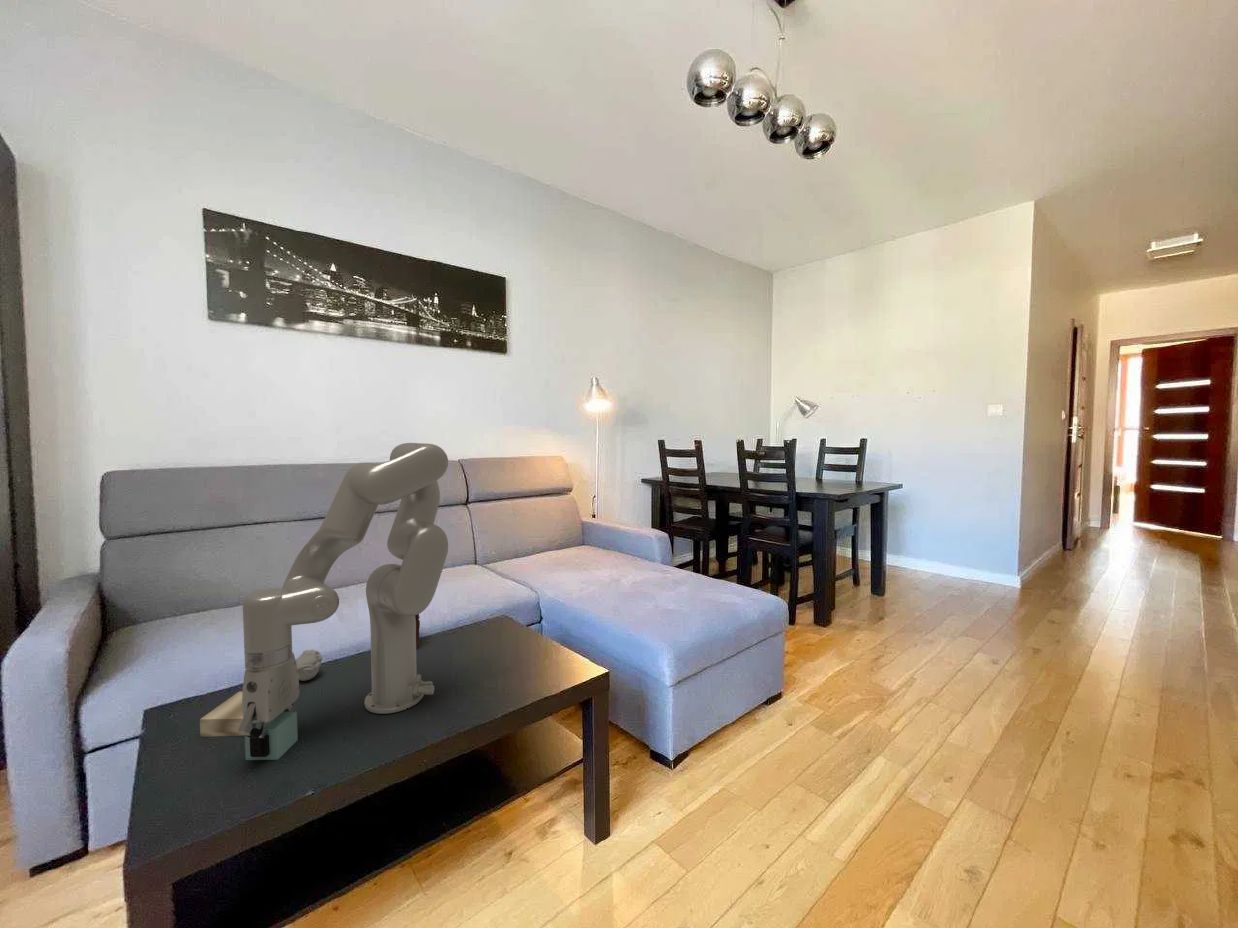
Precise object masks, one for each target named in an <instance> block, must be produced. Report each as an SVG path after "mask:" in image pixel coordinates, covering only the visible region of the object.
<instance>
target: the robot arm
mask: <svg viewBox="0 0 1238 928" xmlns="http://www.w3.org/2000/svg"><path fill="white" fill-rule="evenodd" d="M448 466H449V458H448V455H447V453H446V452H445V450H444V449H443V448H442V447H440V446H439V445H436V444H433V443H423V442H422V443H420V442H419V443H418V442H405V443H401V444H398V445H397V446H395V447H394V448H393V449H392V450H391V452H390V455H389V460H388V461H385V462H381V463H373V462H371V463H370V462H361V463H357V464H355V465H353V466H351V467H350V468H349V469H348V470H347V471H346V473H345V475H344V477H343V479H342V481H341V483H340V485H339V487H338V490H336V491H337V492H336V494H335V495H334V497H333V500H332V502H331V503H330V506H329V508H328V511H327V513H326V515H325V517H324V519H323V521H322V523H321V525H320V526H319V528H318V530H317V531H316V532H315V533H314V534H313V535H312V537H311V538H310V539H309V540H308V542H307V543H306V544H305V545H304V547H302V548H301V550H300V551H299V553H298V555H297V556H296V558H295V560H294V562H293V563H292V565H291V567H290V569H289V572H288V574H287V576H286V578H285V580H284V582H283V585H282V588H265V589H261V590H258V591H254V592H251V593H250V594H248V595H246V596H245V597H244V598H243V601H242V623H243V624H242V625H243V626H242V627H243V650H244V653H243V654H244V669H245V670H244V675H243V681H242V682H243V683H242V691H243V693H242V713H243V720H242V722H241V725H240V727H239V729H238V732H239V733H241V734H244V735H245V736H247V738H250V756H251V757H267V756H268V755H269V735H266V732H267V727H268V722H271V721H272V720H273V719H275V718H276V717H277V716H278V715H280V714H281V713H282V712H283V711H294V704H295V702H296V701H297V700H298V698H299V696H300V681H299V679H298V671H297V664H296V660H297V659H296V657H295V654H294V652H293V631H292V629H293V628H292V626H298V625H299V626H300V625H308V624H316V623H320V622H323V621H326V620H328V619H329V618H330V617H332V616H333V615H334V614H335V613H336V611H338V608H339V605H340V598H339V594H338V593H337V591H336V590H335V589H334V588H332V586H329V585H328V584H326V583H325V580H326V578H327V576H328V574H329V572H330V570H331V568H332V567H333V565H334V564H335V562H336V561H337V559H339V557H340V556H341V555H342V554H343V553H345V552H347V551H348V550H350V549H351V548H353V547H356V546H358V544H360V543H361V542H362V541H363V540H364V539H365V537H366V534H367V532H368V530H369V527H370V524H371V523H372V520H373V517H374V515H375V514H376V511H377V510H378V507H379V506H380V505H387V504H388V505H389V504H391V503H394V502H397V501H399V500H400V502H399V507H398V509H397V511H396V515H395V517H394V520H393V523H392V525H391V529H390V531H389V535H388V536H387V541H386V542H387V543H386V545H387V550H388V551H389V553H390V554H391V555H392V556H393V557H395V558H397V559H399V560H402V562H401V565H400V564H397V563H387V564H383V565H380V566H378V567H377V568H376V569H374V570H373V571H372V572H371V574H370V575H369V576H368V578H367V581H366V585H365V596H366V602H367V606H368V607H367V608H368V612H369V624H370V662H371V663H370V664H371V666H370V667H371V668H370V669H371V692H370V693H368V694H367V695H366V696H365V698H364V707H365V709H366V710H367V711H368V712H371V713H373V714H379V715H380V714H381V715H384V714H385V715H386V714H393V713H398V712H402V711H405V710H407V708H408V709H409V708H411V707H414V706H415V705H416V704H418V703H419V702H420V701H421V700H422V699H423V698H424V695H425V696H426V695H434V692H435V685H433V681H431V680H430V681H429V680H428V681H423V680H422V675H421V674H418V673H417V672H418V671H417V648H416V619H415V615H418V614H419V615H420V614H421V613H422V612H424V611H425V610H426V609H427V608H428V607H429V605H431V603H432V600H433V598H434V596H435V594H436V591H437V587H438V586H439V585H438V584H439V581H440V578H441V575H442V572H443V569H444V566H445V563H446V559H447V556H448V552H449V540H448V536H447V534H446V532H445V530H443V528H441V527H440V526H438V525H437V524H435V521H436V517H437V514H438V509H439V505H440V502H441V501H440V499H441V491H440V486H439V482H438V480H440V479H441V478H442V477H443V476H444V474H445V473H446V472H447V470H448ZM257 716H258V718H259V719H257ZM256 723H262V724H261V728H260V730H259V729H257V728H256ZM245 736H244V737H245Z"/></svg>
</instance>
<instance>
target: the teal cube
mask: <svg viewBox="0 0 1238 928" xmlns="http://www.w3.org/2000/svg"><path fill="white" fill-rule="evenodd" d="M258 719H259V718H258ZM261 724H262V723H256V728H257V729H259V730H260V728H261ZM266 735H269V755H268V756H267V757H251V756H250V738H247V736H244V750H245V751H244V753H245V754H244V755H245V760H246V761H267V760H268V761H271V760H273V761H274V760H275V761H278V760H279V759H281V757H282V756H283V755H284V754H285V753H286V752H288V750H289V749H290V748H292V747H293V746H294V744H296V742H297V741H299V740H298V737H299V736H298V711H296V710H295V711H294V710H293V711H283V712H282V713H281V714H280V715H278V716H277V717H276V718H275V719H273V720H272V721H271V722H268V727H267V732H266Z"/></svg>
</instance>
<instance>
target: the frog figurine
mask: <svg viewBox="0 0 1238 928" xmlns="http://www.w3.org/2000/svg"><path fill="white" fill-rule="evenodd" d="M295 660H296V664H297V671H298V679H299V680H300V681H302V682H303V681H304V682H305V681H306V682H307V681H309V680H312V679H313V678H314V677H315V676H316V675H317V674H318V673H319V670H320V667H321V666H322V661H323V656H322V654H321V652H320V651H319V650H315V649H306V650H304V651H302V653H301V655H300V654H299V656H298V657H297V659H295Z"/></svg>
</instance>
